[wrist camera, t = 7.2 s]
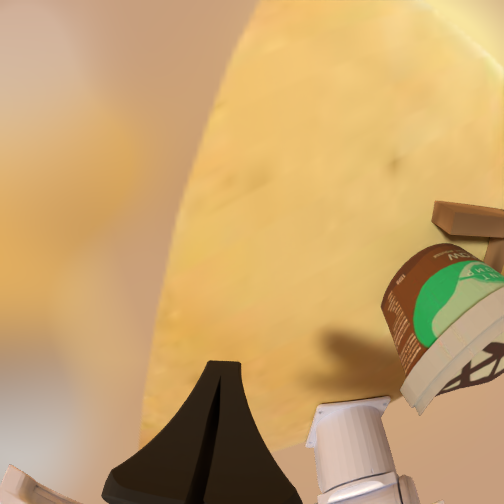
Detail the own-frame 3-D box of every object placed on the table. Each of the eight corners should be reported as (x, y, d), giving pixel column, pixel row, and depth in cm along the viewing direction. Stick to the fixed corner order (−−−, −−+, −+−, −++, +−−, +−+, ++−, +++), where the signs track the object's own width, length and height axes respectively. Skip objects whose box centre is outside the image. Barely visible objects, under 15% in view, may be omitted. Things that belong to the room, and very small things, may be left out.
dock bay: (465, 329, 21) (479, 347, 19) (398, 339, 22) (410, 361, 19) (504, 209, 16) (526, 221, 14) (435, 200, 17) (457, 213, 14)
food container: (497, 226, 17) (578, 286, 8) (480, 290, 20) (542, 361, 11) (372, 231, 18) (454, 327, 9) (362, 309, 20) (410, 418, 11)
